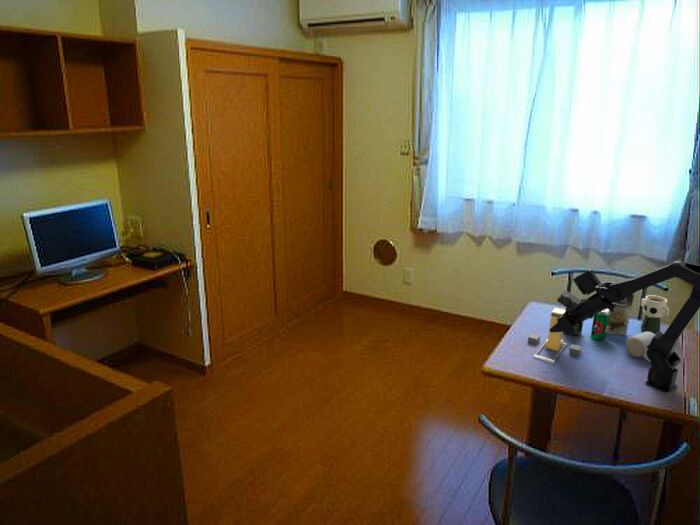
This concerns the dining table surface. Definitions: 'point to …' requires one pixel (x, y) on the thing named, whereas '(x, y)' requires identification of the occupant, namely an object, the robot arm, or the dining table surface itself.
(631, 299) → the coffee box
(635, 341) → the ceramic mug
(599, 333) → the soda can
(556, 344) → the amber handle
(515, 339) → the dining table surface
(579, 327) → the supplement bottle
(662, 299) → the character mug
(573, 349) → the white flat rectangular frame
